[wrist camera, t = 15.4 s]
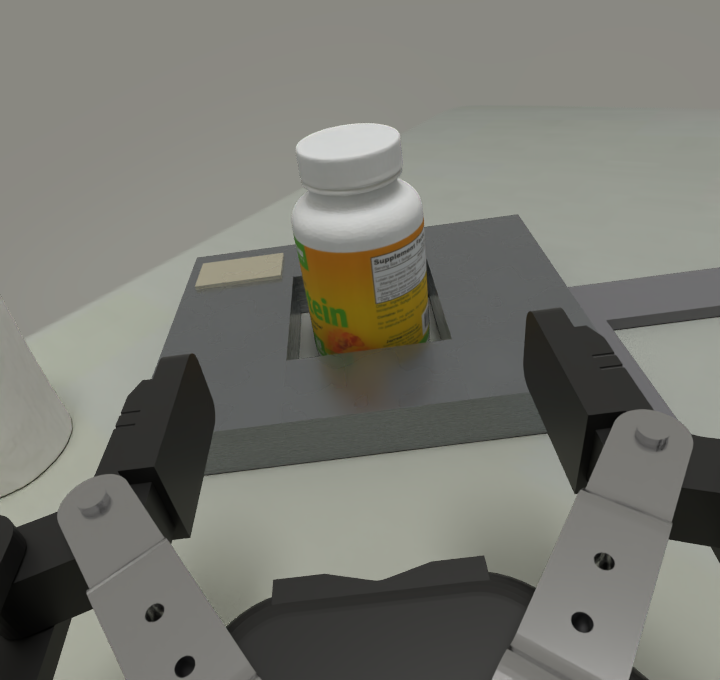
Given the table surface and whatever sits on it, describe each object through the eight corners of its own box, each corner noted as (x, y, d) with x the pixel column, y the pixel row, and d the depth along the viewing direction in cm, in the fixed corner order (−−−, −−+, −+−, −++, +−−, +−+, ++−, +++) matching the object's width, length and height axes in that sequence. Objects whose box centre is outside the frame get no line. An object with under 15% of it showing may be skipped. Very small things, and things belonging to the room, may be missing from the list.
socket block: (516, 249, 32) (518, 211, 31) (620, 423, 21) (630, 374, 20) (208, 290, 33) (196, 254, 31) (148, 481, 22) (125, 438, 20)
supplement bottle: (296, 344, 28) (250, 146, 22) (382, 300, 30) (361, 110, 24) (361, 399, 24) (327, 177, 18) (454, 344, 26) (449, 131, 20)
